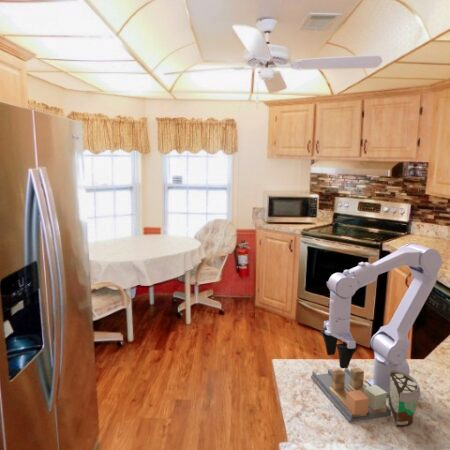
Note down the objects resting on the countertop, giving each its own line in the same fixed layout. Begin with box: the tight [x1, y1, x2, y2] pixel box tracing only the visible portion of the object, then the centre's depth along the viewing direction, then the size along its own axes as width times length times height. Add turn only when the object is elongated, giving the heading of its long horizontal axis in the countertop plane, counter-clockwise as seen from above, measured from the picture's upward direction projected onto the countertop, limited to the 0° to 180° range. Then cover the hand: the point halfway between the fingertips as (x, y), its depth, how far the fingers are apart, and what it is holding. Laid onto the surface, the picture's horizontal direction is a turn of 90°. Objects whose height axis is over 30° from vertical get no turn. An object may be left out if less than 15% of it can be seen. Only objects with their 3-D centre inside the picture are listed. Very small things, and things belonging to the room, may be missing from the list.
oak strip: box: [329, 369, 367, 417], centre depth 105 cm, size 4×12×6 cm, turn 13°
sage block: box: [364, 385, 388, 410], centre depth 103 cm, size 4×4×4 cm
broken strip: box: [348, 367, 387, 414], centre depth 106 cm, size 4×12×6 cm, turn 13°
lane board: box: [310, 367, 392, 423], centre depth 110 cm, size 12×22×2 cm, turn 13°
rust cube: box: [346, 390, 369, 415], centre depth 100 cm, size 4×4×4 cm
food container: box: [387, 370, 421, 428], centre depth 100 cm, size 12×6×10 cm, turn 168°
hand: (337, 360), depth 110 cm, fingers open, 7 cm apart
